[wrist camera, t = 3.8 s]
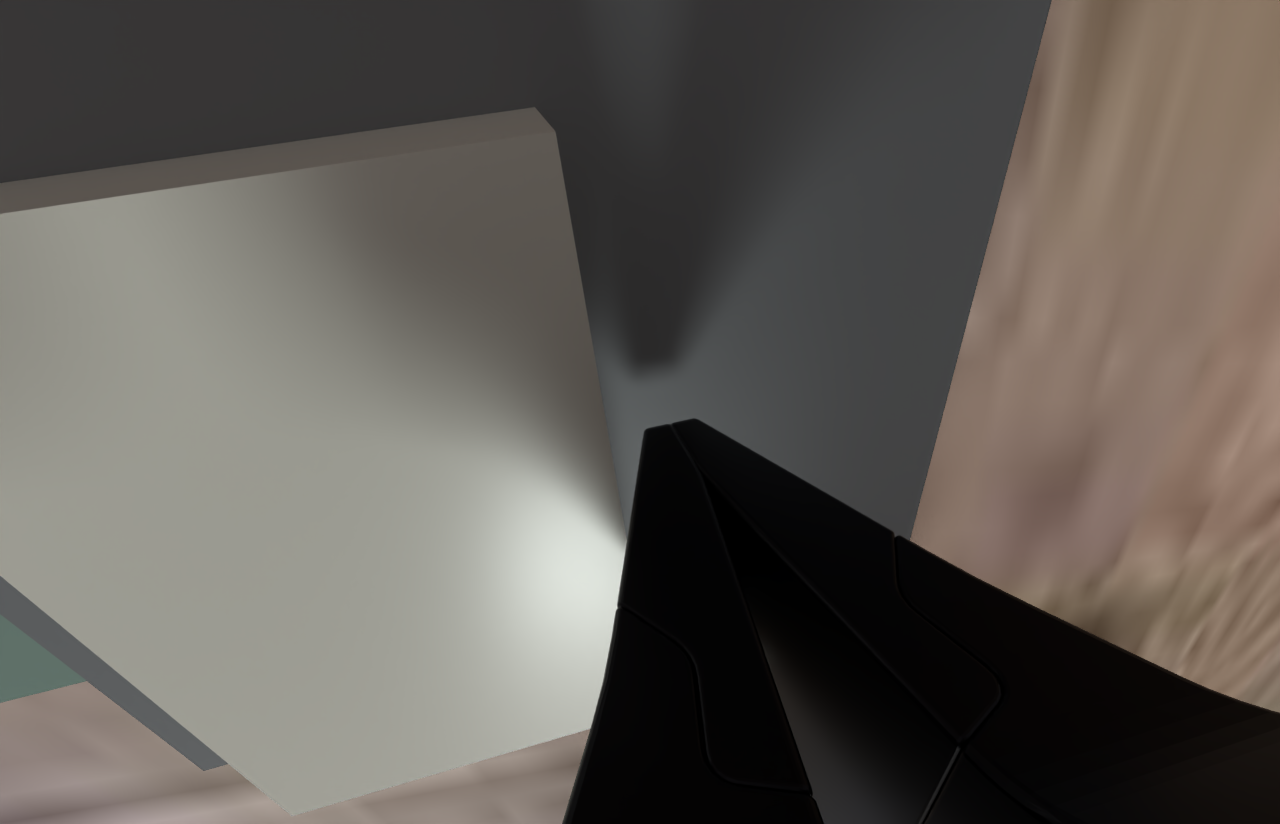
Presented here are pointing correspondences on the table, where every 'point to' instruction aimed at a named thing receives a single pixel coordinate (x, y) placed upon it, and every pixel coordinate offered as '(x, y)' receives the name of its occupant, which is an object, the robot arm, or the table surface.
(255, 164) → the block
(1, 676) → the mat
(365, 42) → the grey flat box
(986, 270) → the table surface
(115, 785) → the table surface
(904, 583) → the robot arm
